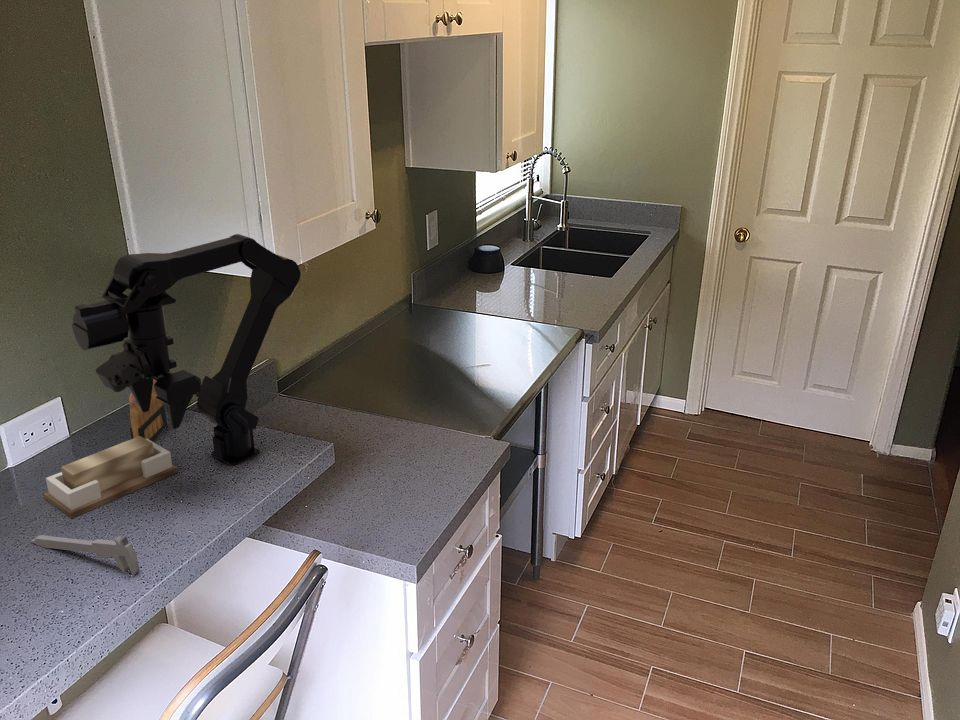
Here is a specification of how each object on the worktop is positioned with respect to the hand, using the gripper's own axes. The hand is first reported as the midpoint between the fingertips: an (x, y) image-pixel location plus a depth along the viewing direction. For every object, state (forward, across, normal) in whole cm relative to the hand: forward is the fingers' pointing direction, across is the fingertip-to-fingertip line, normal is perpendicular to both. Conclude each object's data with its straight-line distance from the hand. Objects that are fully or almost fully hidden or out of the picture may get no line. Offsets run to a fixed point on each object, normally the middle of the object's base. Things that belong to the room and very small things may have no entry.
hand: (160, 419), depth 132 cm
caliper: (+12, +10, -20) cm, 26 cm away
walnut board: (+12, -6, -7) cm, 15 cm away
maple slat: (+11, -6, -7) cm, 14 cm away
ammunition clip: (+12, -16, +6) cm, 21 cm away
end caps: (+12, -6, -7) cm, 15 cm away
